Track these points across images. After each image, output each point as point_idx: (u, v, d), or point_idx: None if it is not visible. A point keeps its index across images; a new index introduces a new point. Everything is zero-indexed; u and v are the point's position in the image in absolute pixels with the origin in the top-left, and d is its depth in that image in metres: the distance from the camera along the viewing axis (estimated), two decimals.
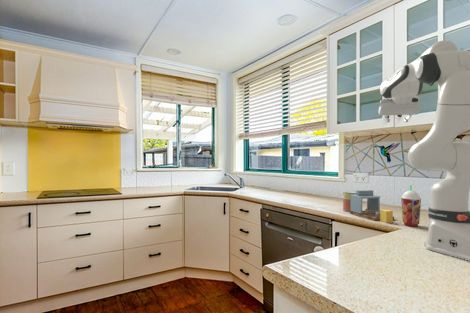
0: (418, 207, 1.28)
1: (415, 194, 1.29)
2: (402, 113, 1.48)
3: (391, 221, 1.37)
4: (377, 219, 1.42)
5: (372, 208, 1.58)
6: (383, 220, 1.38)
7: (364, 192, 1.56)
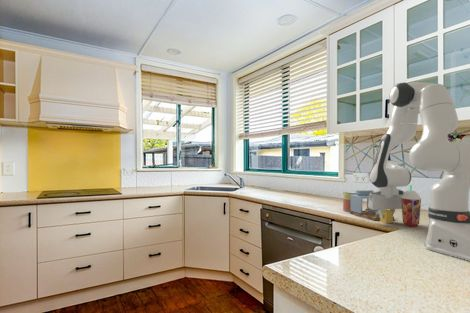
0: (418, 207, 1.28)
1: (415, 194, 1.29)
2: (391, 207, 1.38)
3: (391, 221, 1.37)
4: (377, 219, 1.42)
5: None
6: (383, 220, 1.38)
7: (364, 192, 1.56)
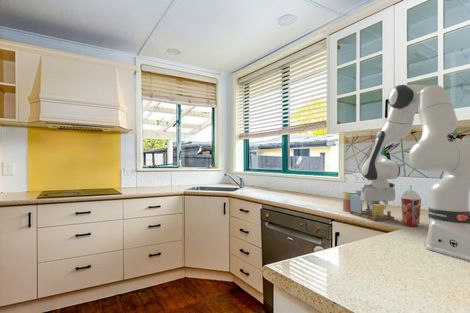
0: (418, 207, 1.28)
1: (415, 194, 1.29)
2: (382, 199, 1.46)
3: (382, 215, 1.46)
4: (377, 219, 1.42)
5: None
6: (375, 214, 1.47)
7: None
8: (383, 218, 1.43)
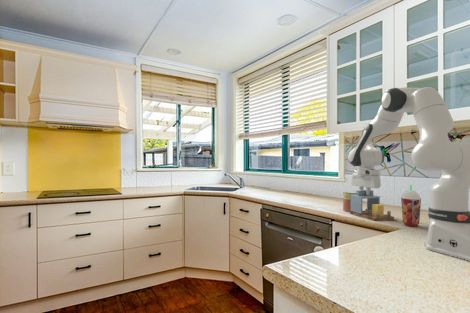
0: (418, 207, 1.28)
1: (415, 194, 1.29)
2: (364, 185, 1.55)
3: (382, 215, 1.46)
4: (377, 219, 1.42)
5: None
6: (375, 214, 1.47)
7: (364, 192, 1.56)
8: (383, 218, 1.43)
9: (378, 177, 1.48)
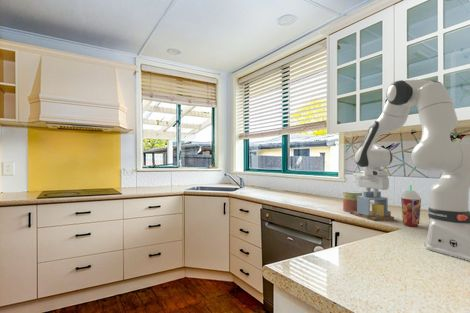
0: (418, 207, 1.28)
1: (415, 194, 1.29)
2: (371, 186, 1.50)
3: (382, 215, 1.46)
4: (377, 219, 1.42)
5: None
6: (375, 214, 1.47)
7: (371, 193, 1.50)
8: (383, 218, 1.43)
9: (387, 178, 1.43)
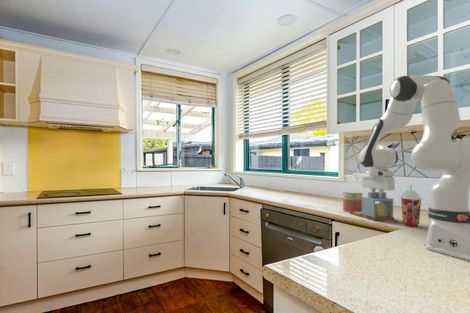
0: (418, 207, 1.28)
1: (415, 194, 1.29)
2: (376, 187, 1.46)
3: (382, 215, 1.46)
4: (377, 219, 1.42)
5: (385, 211, 1.49)
6: (375, 214, 1.47)
7: (376, 194, 1.47)
8: (383, 218, 1.43)
9: (392, 179, 1.39)
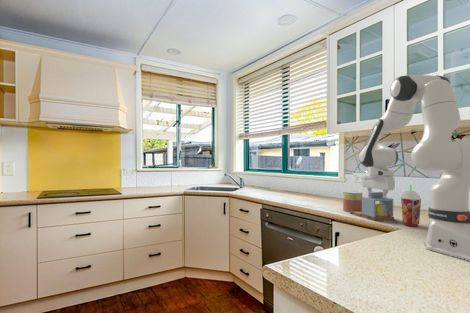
0: (418, 207, 1.28)
1: (415, 194, 1.29)
2: (376, 187, 1.46)
3: (382, 215, 1.46)
4: (377, 219, 1.42)
5: (385, 211, 1.49)
6: (375, 214, 1.47)
7: (376, 194, 1.47)
8: (383, 218, 1.43)
9: (392, 179, 1.39)
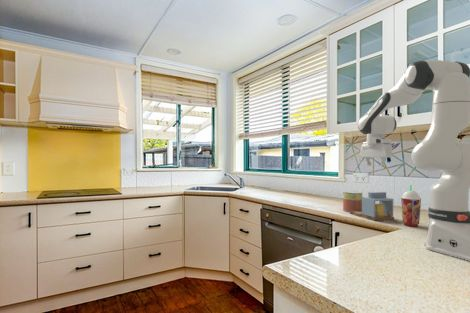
0: (418, 207, 1.28)
1: (415, 194, 1.29)
2: (374, 155, 1.48)
3: (382, 215, 1.46)
4: (377, 219, 1.42)
5: (385, 211, 1.49)
6: (375, 214, 1.47)
7: (376, 194, 1.47)
8: (383, 218, 1.43)
9: (390, 146, 1.41)
